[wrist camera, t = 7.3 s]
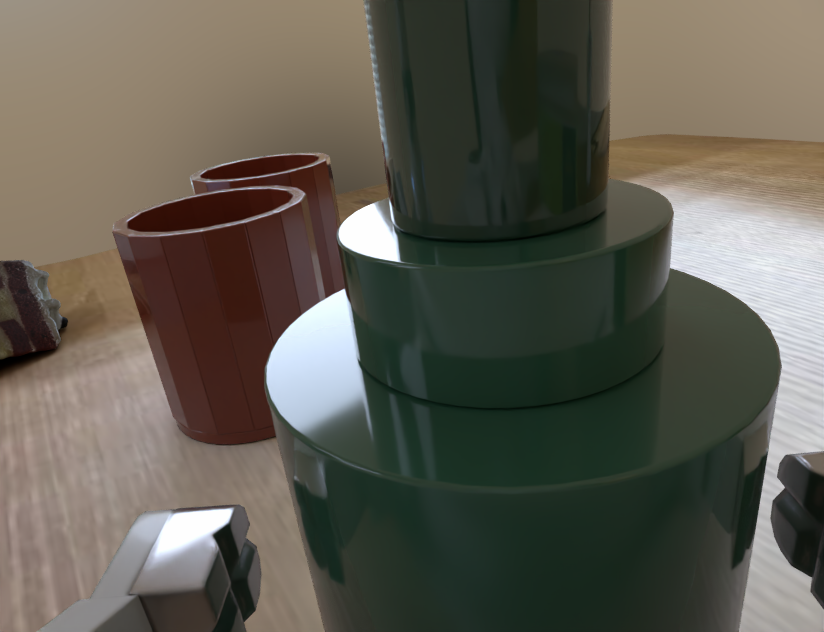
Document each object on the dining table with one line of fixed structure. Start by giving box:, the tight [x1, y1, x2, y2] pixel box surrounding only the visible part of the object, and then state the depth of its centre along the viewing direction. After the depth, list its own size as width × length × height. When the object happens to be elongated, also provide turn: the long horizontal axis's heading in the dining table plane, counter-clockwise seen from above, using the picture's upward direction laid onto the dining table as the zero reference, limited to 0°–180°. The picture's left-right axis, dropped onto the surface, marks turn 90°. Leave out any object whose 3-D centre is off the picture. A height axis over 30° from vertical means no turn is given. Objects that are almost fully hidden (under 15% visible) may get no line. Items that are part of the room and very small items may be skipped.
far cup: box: [190, 152, 345, 298], centre depth 39 cm, size 8×8×10 cm
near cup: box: [113, 186, 326, 444], centre depth 29 cm, size 8×8×10 cm
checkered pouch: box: [0, 260, 68, 359], centre depth 42 cm, size 10×7×12 cm
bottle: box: [264, 0, 782, 632], centre depth 9 cm, size 6×6×18 cm
